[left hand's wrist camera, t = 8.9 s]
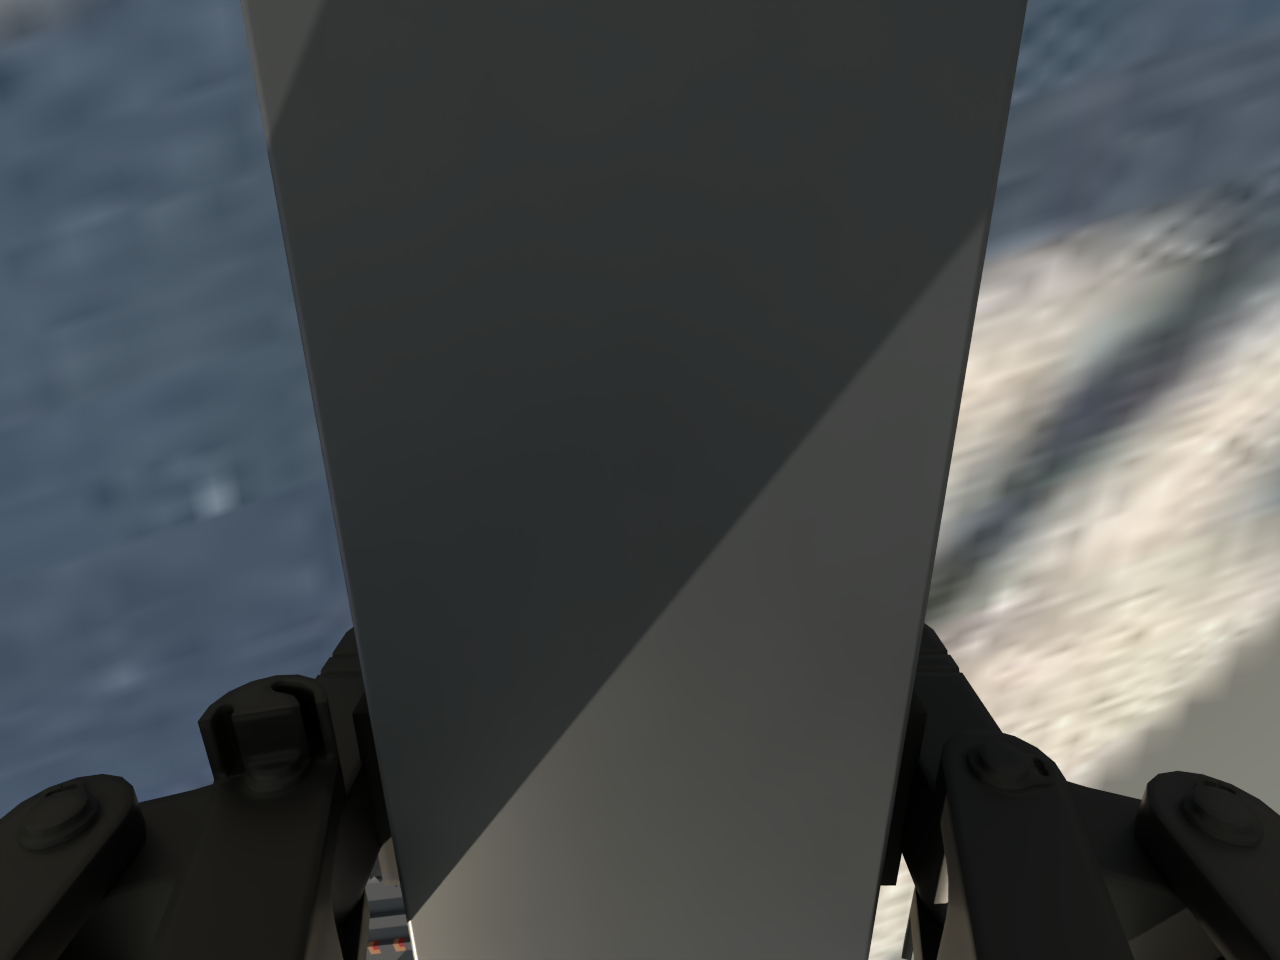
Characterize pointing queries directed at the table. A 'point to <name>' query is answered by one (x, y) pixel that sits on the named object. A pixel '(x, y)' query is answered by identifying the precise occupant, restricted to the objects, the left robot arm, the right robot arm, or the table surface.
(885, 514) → the beam
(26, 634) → the table surface
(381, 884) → the toy
